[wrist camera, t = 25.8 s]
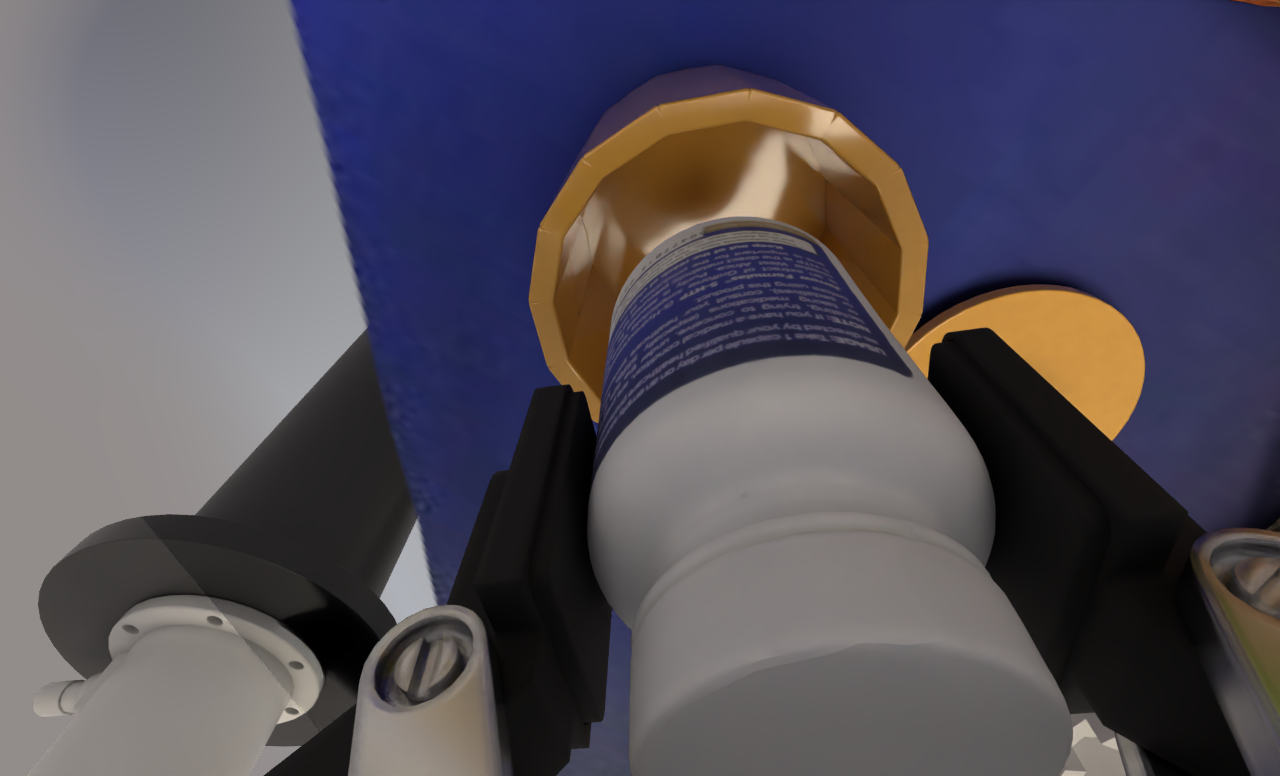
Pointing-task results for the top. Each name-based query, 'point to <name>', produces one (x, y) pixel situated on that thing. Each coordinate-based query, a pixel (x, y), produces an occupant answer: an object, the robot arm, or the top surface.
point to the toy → (1275, 526)
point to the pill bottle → (799, 532)
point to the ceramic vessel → (1262, 2)
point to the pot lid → (1055, 345)
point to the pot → (716, 203)
